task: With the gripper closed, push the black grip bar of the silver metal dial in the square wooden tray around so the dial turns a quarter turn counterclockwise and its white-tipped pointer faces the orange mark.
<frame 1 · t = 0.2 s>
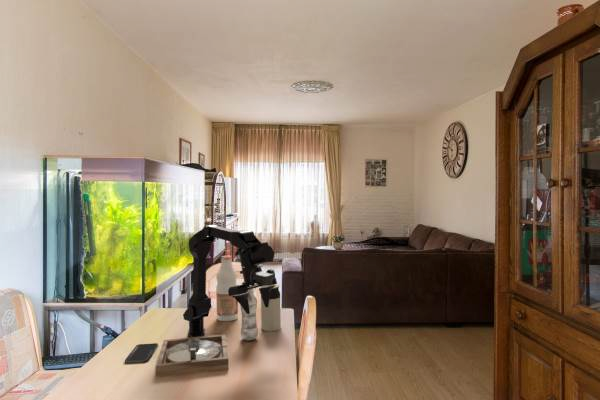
hand: (257, 310, 137), 15 cm above the table, tool pointing down, fingers open, 9 cm apart
fruit juice: (227, 318, 177), on the table
square wooden tray: (194, 358, 135), on the table
travel mug: (271, 328, 164), on the table
dial: (194, 346, 135), point 4 cm above the table, hinge at 0.0°
phone: (142, 355, 139), on the table
plastic bottle: (249, 339, 152), on the table
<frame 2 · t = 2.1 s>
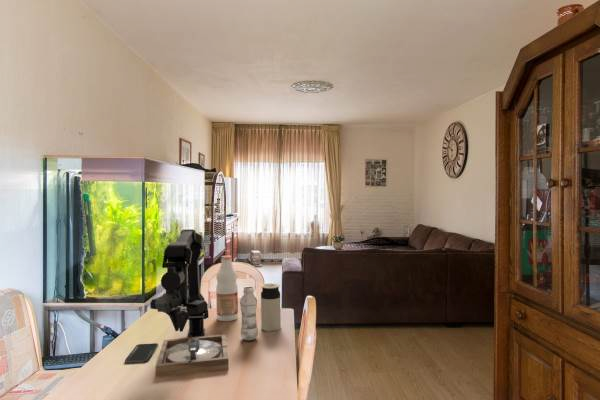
hand: (179, 331, 127), 12 cm above the table, tool pointing down, fingers closed
nothing on the table moved.
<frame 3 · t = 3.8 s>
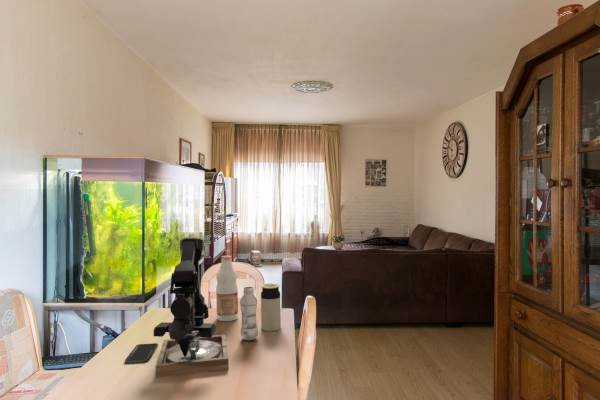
hand: (185, 356, 127), 4 cm above the table, tool pointing down, fingers closed
dial: (194, 346, 135), point 4 cm above the table, hinge at 0.2°, touching gripper
everything else where it was.
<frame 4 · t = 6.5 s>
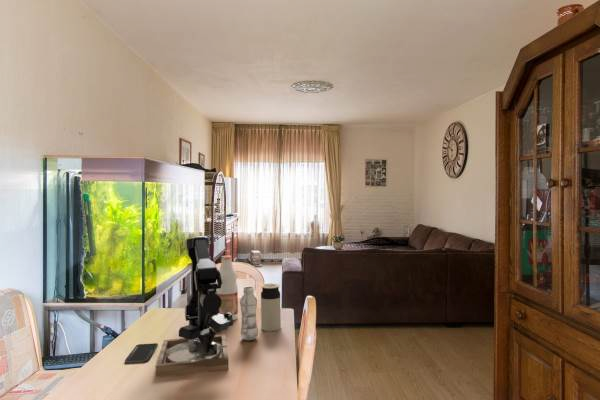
hand: (206, 352, 129), 4 cm above the table, tool pointing down, fingers closed
dial: (194, 346, 135), point 4 cm above the table, hinge at 51.5°, touching gripper
everything else where it was.
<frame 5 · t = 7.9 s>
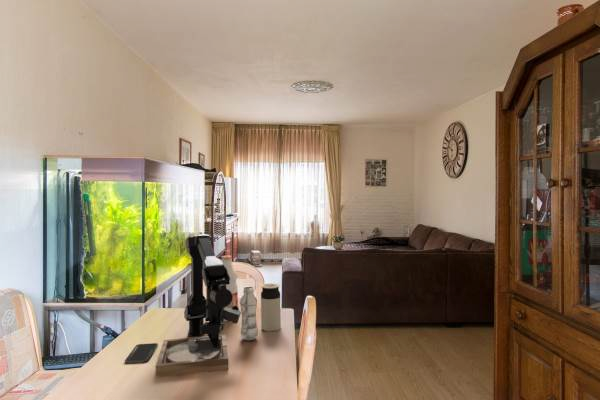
hand: (215, 347, 133), 4 cm above the table, tool pointing down, fingers closed
dial: (194, 346, 135), point 4 cm above the table, hinge at 84.8°, touching gripper
everything else where it was.
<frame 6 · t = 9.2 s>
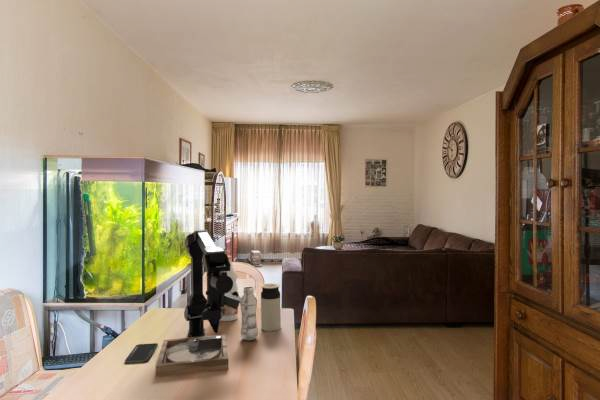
hand: (216, 332, 135), 9 cm above the table, tool pointing down, fingers closed
dial: (194, 346, 135), point 4 cm above the table, hinge at 91.7°
everything else where it was.
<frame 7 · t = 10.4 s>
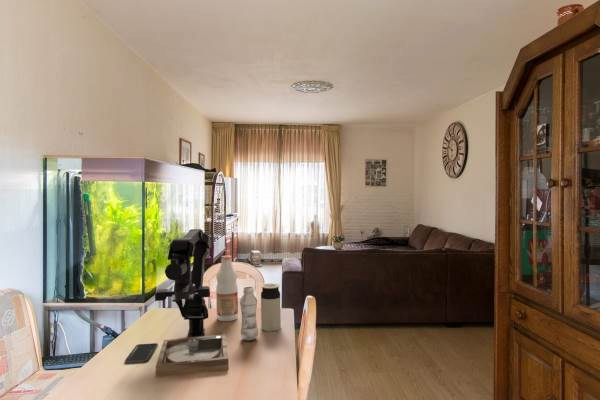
hand: (183, 316, 142), 12 cm above the table, tool pointing down, fingers closed
nothing on the table moved.
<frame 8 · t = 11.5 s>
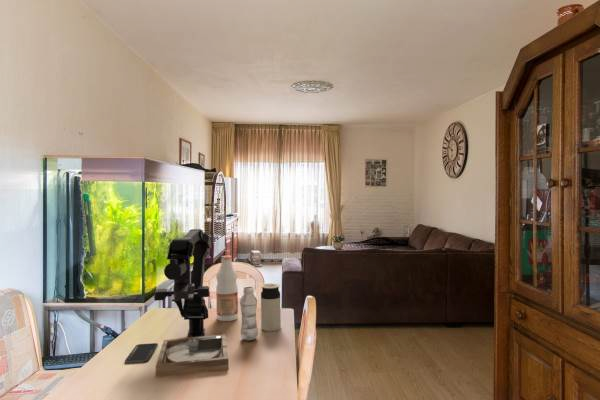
hand: (183, 316, 142), 12 cm above the table, tool pointing down, fingers closed
nothing on the table moved.
at the end: dial at +92° (first picture: +0°) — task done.
